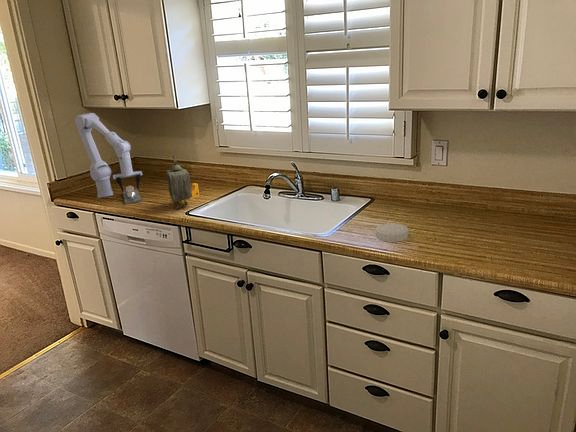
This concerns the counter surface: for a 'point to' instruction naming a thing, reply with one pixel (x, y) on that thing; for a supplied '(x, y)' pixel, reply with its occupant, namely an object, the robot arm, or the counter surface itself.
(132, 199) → the grey metal plate
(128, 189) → the ball knob lever
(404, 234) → the mooncake
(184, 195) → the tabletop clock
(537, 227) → the counter surface
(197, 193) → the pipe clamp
